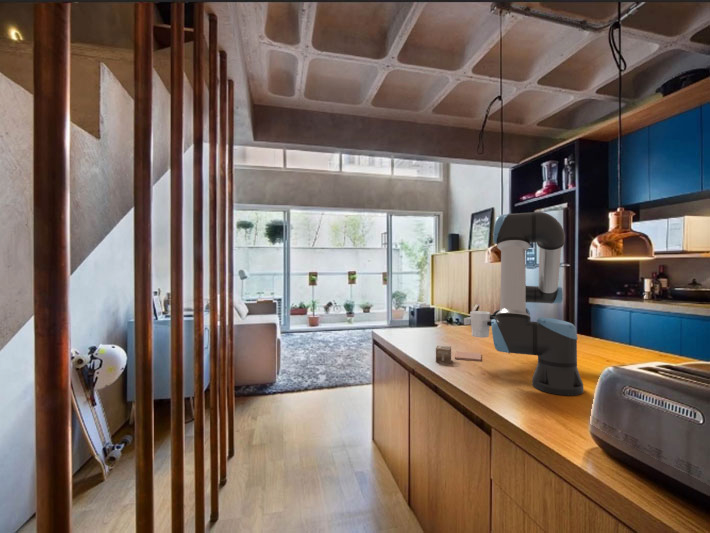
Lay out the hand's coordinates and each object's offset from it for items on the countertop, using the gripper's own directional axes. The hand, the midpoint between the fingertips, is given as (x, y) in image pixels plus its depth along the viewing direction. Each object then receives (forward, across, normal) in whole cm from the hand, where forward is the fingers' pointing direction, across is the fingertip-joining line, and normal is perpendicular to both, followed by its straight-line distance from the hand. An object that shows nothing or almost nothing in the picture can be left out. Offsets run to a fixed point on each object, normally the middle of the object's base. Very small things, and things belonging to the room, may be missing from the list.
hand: (472, 322), depth 143 cm
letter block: (+2, +14, -18) cm, 23 cm away
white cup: (-5, 0, -6) cm, 8 cm away
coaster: (-11, +11, -18) cm, 24 cm away
